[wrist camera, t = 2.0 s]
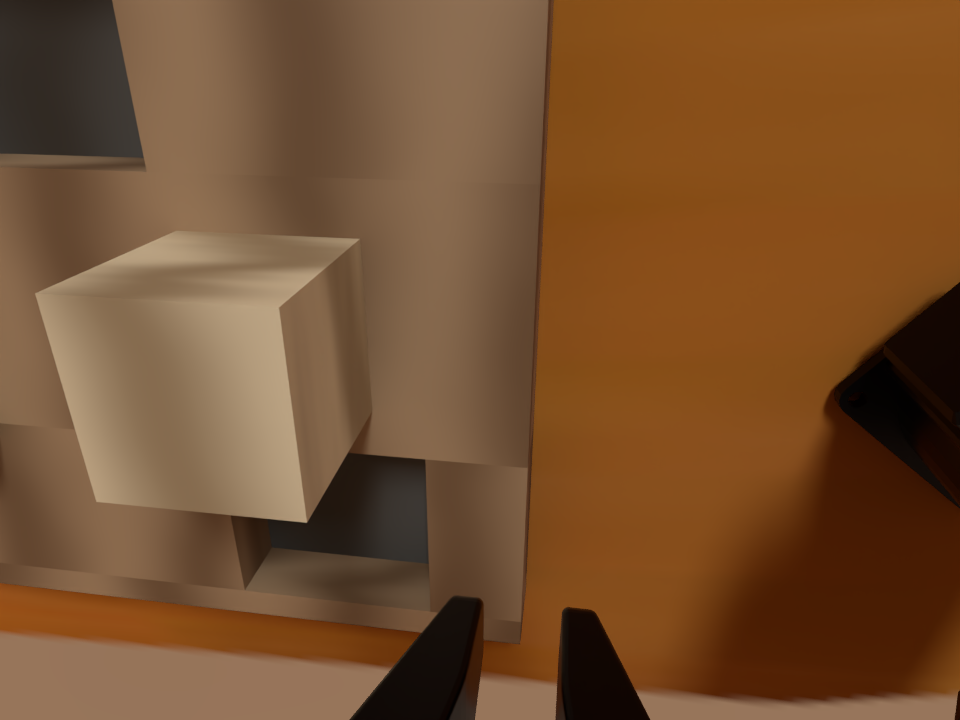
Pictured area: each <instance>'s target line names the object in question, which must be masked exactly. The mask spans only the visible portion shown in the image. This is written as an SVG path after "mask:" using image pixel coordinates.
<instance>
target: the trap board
mask: <svg viewBox="0 0 960 720" xmlns="http://www.w3.org/2000/svg"><path fill="white" fill-rule="evenodd" d="M553 1H554V0H0V583H5V584H14V585H22V586H30V587H39V588H47V589H56V590H64V591H73V592H81V593H90V594H98V595H107V596H115V597H124V598H132V599H141V600H149V601H157V602H166V603H174V604H183V605H191V606H200V607H208V608H217V609H225V610H234V611H242V612H251V613H259V614H268V615H276V616H284V617H293V618H301V619H310V620H318V621H327V622H335V623H344V624H352V625H361V626H369V627H378V628H386V629H395V630H403V631H411V632H420V633H422V632H423V630H424V629H425V628H426V627H427V626H428V624H429V623H430V622H431V621H432V620H433V618H434V617H435V616H436V615H437V614H438V612H439V611H440V610H441V609H442V608H443V606H444V605H445V604H446V603H447V601H448V600H449V599H450V598H451V597H453V596H455V595H459V596H469V597H478V598H480V599H482V601H483V603H484V640H488V641H496V642H505V643H513V644H520V639H521V629H522V620H523V610H524V601H525V591H526V573H527V551H528V530H529V509H530V488H531V467H532V446H533V424H534V403H535V382H536V361H537V340H538V319H539V297H540V276H541V255H542V234H543V213H544V192H545V170H546V149H547V128H548V107H549V86H550V65H551V43H552V22H553ZM175 231H191V232H214V233H237V234H260V235H282V236H305V237H328V238H351V239H360V245H361V259H362V273H363V287H364V301H365V315H366V329H367V343H368V357H369V371H370V385H371V399H372V412H371V414H370V416H369V417H368V419H367V421H366V423H365V424H364V426H363V428H362V429H361V431H360V433H359V435H358V436H357V438H356V440H355V441H354V443H353V445H352V447H351V448H350V450H349V452H348V453H347V455H346V457H345V459H344V460H343V462H342V464H341V465H340V467H339V469H338V471H337V472H336V474H335V476H334V477H333V479H332V481H331V483H330V484H329V486H328V488H327V489H326V491H325V493H324V495H323V496H322V498H321V500H320V501H319V503H318V505H317V507H316V508H315V510H314V512H313V513H312V515H311V517H310V519H309V520H308V522H307V523H304V522H294V521H284V520H274V519H264V518H254V517H244V516H234V515H224V514H214V513H204V512H194V511H184V510H173V509H163V508H153V507H143V506H133V505H123V504H113V503H103V502H96V499H95V495H94V492H93V489H92V485H91V482H90V478H89V475H88V472H87V468H86V465H85V461H84V458H83V455H82V451H81V448H80V444H79V441H78V438H77V434H76V431H75V427H74V424H73V421H72V417H71V414H70V410H69V407H68V404H67V400H66V397H65V393H64V390H63V387H62V383H61V380H60V376H59V373H58V370H57V366H56V363H55V360H54V356H53V353H52V349H51V346H50V343H49V339H48V336H47V332H46V329H45V326H44V322H43V319H42V315H41V312H40V309H39V305H38V302H37V298H36V295H35V293H37V292H39V291H42V290H44V289H46V288H48V287H51V286H53V285H55V284H57V283H60V282H62V281H64V280H66V279H69V278H71V277H73V276H75V275H78V274H80V273H82V272H84V271H87V270H89V269H91V268H93V267H96V266H98V265H100V264H102V263H105V262H107V261H109V260H112V259H114V258H116V257H118V256H121V255H123V254H125V253H127V252H130V251H132V250H134V249H136V248H139V247H141V246H143V245H145V244H148V243H150V242H152V241H154V240H157V239H159V238H161V237H163V236H166V235H168V234H170V233H172V232H175Z"/></svg>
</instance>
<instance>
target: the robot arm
mask: <svg viewBox="0 0 960 720" xmlns="http://www.w3.org/2000/svg"><path fill="white" fill-rule="evenodd" d="M855 392H862V395H861V397H860V398H859V399H857V400H855V401H848V399H849V397H850V396H851V394H853V393H855ZM834 397H835V401H836V402H837V403H838V405H839V406H840V407H841V409H842V410H843V411H844V412H845V413H846V414H847V415H848V416H850V417H851V418H852V419H853V420H854V421H856V422H857V423H858V424H859V425H860V426H862V427H863V428H864V429H865V430H866V431H868V432H869V433H870V434H871V435H872V436H874V437H875V438H876V439H877V440H878V441H880V442H881V443H882V444H883V445H884V446H886V447H887V448H888V449H889V450H890V451H892V452H893V453H894V454H895V455H896V456H898V457H899V458H900V459H901V460H902V461H904V462H905V463H906V464H907V465H908V466H910V467H911V468H912V469H913V470H914V471H916V472H917V473H918V474H919V475H920V476H922V477H923V478H924V479H925V480H926V481H928V482H929V483H930V484H931V485H932V486H934V487H935V488H936V489H937V490H938V491H940V492H941V493H942V494H943V495H944V496H946V497H947V498H948V499H949V500H950V501H952V502H953V503H954V504H955V505H956V506H958V507H959V508H960V283H958V284H957V285H956V286H955V287H953V288H952V289H951V290H950V291H948V292H947V293H946V294H945V295H944V296H942V297H941V298H940V299H939V300H937V301H936V302H935V303H934V304H932V305H931V306H930V307H929V308H928V309H926V310H925V311H924V312H923V313H921V314H920V315H919V316H918V317H916V318H915V319H914V320H913V321H912V322H910V323H909V324H908V325H907V326H905V327H904V328H903V329H902V330H900V331H899V332H898V333H897V334H896V335H894V336H893V337H892V338H891V339H889V340H888V341H887V342H886V343H885V347H884V348H883V349H882V350H881V351H880V352H878V353H877V354H876V355H875V356H873V357H872V358H871V359H870V360H868V361H867V362H866V363H865V364H863V365H862V366H861V367H860V368H859V369H857V370H856V371H855V372H854V373H852V374H851V375H850V376H849V377H847V378H846V379H845V380H844V381H842V382H841V383H840V384H839V385H838V387H837V388H836V390H835V393H834ZM483 643H484V603H483V601H482V599H480V598H478V597H469V596H459V595H455V596H453V597H451V598H450V599H449V600H448V601H447V603H446V604H445V605H444V606H443V608H442V609H441V610H440V611H439V612H438V614H437V615H436V616H435V617H434V618H433V620H432V621H431V622H430V623H429V624H428V626H427V627H426V628H425V629H424V630H423V632H422V633H421V634H420V635H419V637H418V638H417V639H416V640H415V641H414V643H413V644H412V645H411V646H410V647H409V649H408V650H407V651H406V652H405V653H404V655H403V656H402V657H401V658H400V659H399V661H398V662H397V663H396V664H395V665H394V667H393V668H392V669H391V670H390V672H389V673H388V674H387V675H386V676H385V678H384V679H383V680H382V681H381V682H380V684H379V685H378V686H377V687H376V688H375V690H374V691H373V692H372V693H371V695H370V696H369V697H368V698H367V699H366V700H365V702H364V703H363V704H362V705H361V707H360V708H359V709H358V710H357V711H356V713H355V714H354V715H353V716H352V717H351V719H350V720H475V713H476V705H477V697H478V690H479V682H480V674H481V666H482V658H483ZM556 720H650V718H649V716H648V715H647V712H646V710H645V709H644V707H643V705H642V703H641V701H640V699H639V697H638V695H637V693H636V691H635V689H634V687H633V685H632V683H631V681H630V679H629V677H628V675H627V673H626V671H625V669H624V667H623V665H622V663H621V661H620V659H619V657H618V655H617V653H616V651H615V649H614V647H613V645H612V643H611V641H610V639H609V638H608V636H607V634H606V632H605V630H604V628H603V626H602V624H601V622H600V620H599V618H598V616H597V614H596V613H595V612H594V611H592V610H588V609H579V608H570V607H567V608H565V609H564V610H563V612H562V621H561V634H560V646H559V661H558V680H557V701H556ZM955 720H960V691H959V692H958V698H957V706H956V713H955Z"/></svg>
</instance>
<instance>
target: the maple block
mask: <svg viewBox="0 0 960 720" xmlns="http://www.w3.org/2000/svg"><path fill="white" fill-rule="evenodd" d="M35 295H36V298H37V302H38V305H39V309H40V312H41V315H42V319H43V322H44V326H45V329H46V332H47V336H48V339H49V343H50V346H51V349H52V353H53V356H54V360H55V363H56V366H57V370H58V373H59V376H60V380H61V383H62V387H63V390H64V393H65V397H66V400H67V404H68V407H69V410H70V414H71V417H72V421H73V424H74V427H75V431H76V434H77V438H78V441H79V444H80V448H81V451H82V455H83V458H84V461H85V465H86V468H87V472H88V475H89V478H90V482H91V485H92V489H93V492H94V495H95V499H96V502H103V503H113V504H123V505H133V506H143V507H153V508H163V509H173V510H184V511H194V512H204V513H214V514H224V515H234V516H244V517H254V518H264V519H274V520H284V521H294V522H304V523H307V522H308V520H309V519H310V517H311V515H312V513H313V512H314V510H315V508H316V507H317V505H318V503H319V501H320V500H321V498H322V496H323V495H324V493H325V491H326V489H327V488H328V486H329V484H330V483H331V481H332V479H333V477H334V476H335V474H336V472H337V471H338V469H339V467H340V465H341V464H342V462H343V460H344V459H345V457H346V455H347V453H348V452H349V450H350V448H351V447H352V445H353V443H354V441H355V440H356V438H357V436H358V435H359V433H360V431H361V429H362V428H363V426H364V424H365V423H366V421H367V419H368V417H369V416H370V414H371V412H372V399H371V385H370V371H369V357H368V343H367V329H366V315H365V301H364V287H363V273H362V259H361V245H360V239H351V238H328V237H305V236H282V235H260V234H237V233H214V232H191V231H175V232H172V233H170V234H168V235H166V236H163V237H161V238H159V239H157V240H154V241H152V242H150V243H148V244H145V245H143V246H141V247H139V248H136V249H134V250H132V251H130V252H127V253H125V254H123V255H121V256H118V257H116V258H114V259H112V260H109V261H107V262H105V263H102V264H100V265H98V266H96V267H93V268H91V269H89V270H87V271H84V272H82V273H80V274H78V275H75V276H73V277H71V278H69V279H66V280H64V281H62V282H60V283H57V284H55V285H53V286H51V287H48V288H46V289H44V290H42V291H39V292H37V293H35Z"/></svg>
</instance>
